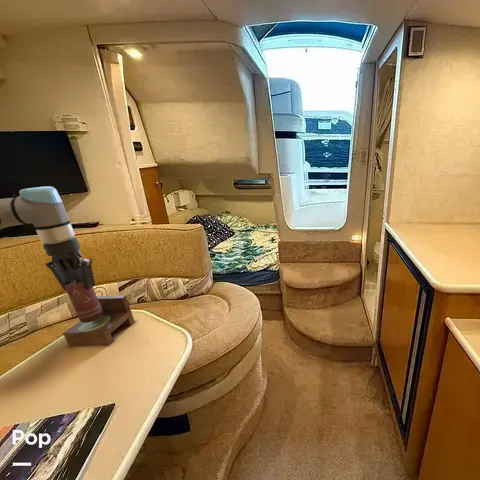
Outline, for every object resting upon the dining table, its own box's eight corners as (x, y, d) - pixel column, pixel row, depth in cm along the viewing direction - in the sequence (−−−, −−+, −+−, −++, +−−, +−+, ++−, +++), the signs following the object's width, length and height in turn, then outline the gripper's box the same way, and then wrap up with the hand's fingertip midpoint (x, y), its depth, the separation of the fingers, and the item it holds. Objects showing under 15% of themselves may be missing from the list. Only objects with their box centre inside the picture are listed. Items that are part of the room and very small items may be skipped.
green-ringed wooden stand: (69, 348, 88) (55, 317, 84) (100, 324, 99) (88, 296, 95) (109, 347, 87) (97, 316, 83) (135, 324, 98) (125, 295, 94)
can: (108, 314, 90) (93, 276, 85) (86, 325, 84) (68, 286, 80) (99, 310, 93) (84, 273, 88) (77, 320, 87) (59, 282, 83)
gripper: (92, 234, 82) (117, 300, 90) (50, 236, 83) (78, 301, 91) (69, 243, 75) (99, 314, 83) (23, 245, 76) (56, 314, 84)
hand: (88, 307), depth 87 cm, fingers closed on can
